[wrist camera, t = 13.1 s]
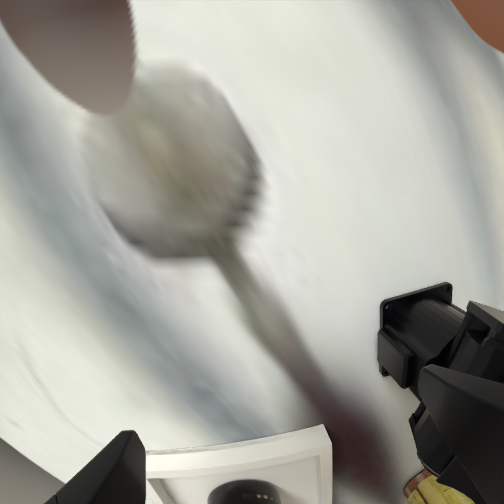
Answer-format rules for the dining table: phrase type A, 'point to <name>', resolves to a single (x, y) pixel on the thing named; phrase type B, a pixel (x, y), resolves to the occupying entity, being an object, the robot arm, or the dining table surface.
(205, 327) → the dining table surface
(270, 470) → the tray
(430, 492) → the sauce bottle
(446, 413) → the robot arm
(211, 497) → the supplement bottle
